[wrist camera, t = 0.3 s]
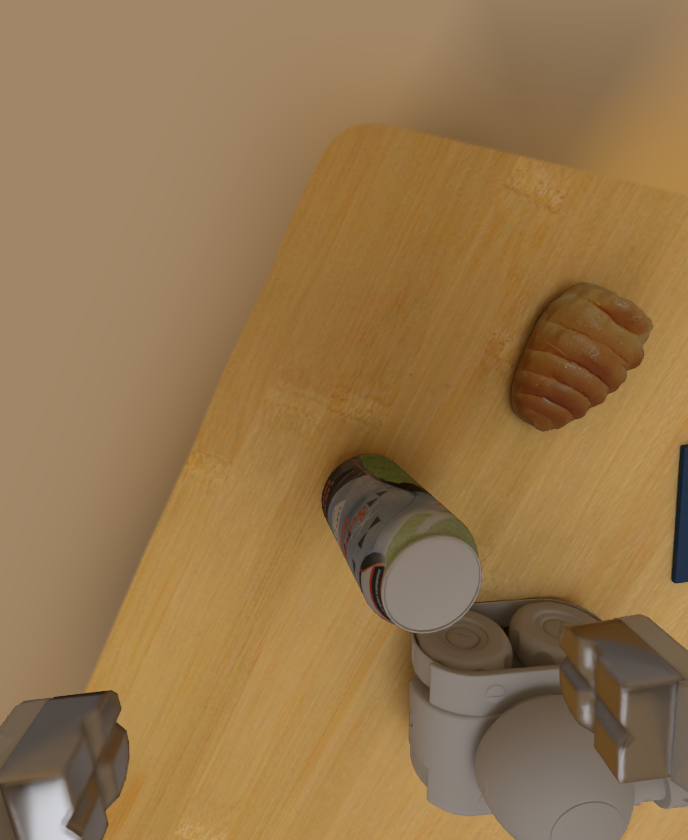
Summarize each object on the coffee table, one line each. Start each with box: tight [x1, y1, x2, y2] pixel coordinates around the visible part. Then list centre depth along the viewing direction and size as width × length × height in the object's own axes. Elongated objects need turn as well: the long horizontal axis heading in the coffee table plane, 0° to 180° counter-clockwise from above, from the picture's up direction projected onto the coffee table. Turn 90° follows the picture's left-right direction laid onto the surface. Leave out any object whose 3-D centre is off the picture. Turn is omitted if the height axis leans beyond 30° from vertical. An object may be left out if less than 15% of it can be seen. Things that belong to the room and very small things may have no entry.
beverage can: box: [322, 454, 482, 634], centre depth 26 cm, size 6×7×12 cm
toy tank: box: [409, 598, 688, 840], centre depth 30 cm, size 15×11×13 cm
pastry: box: [511, 282, 653, 431], centre depth 30 cm, size 9×7×4 cm
